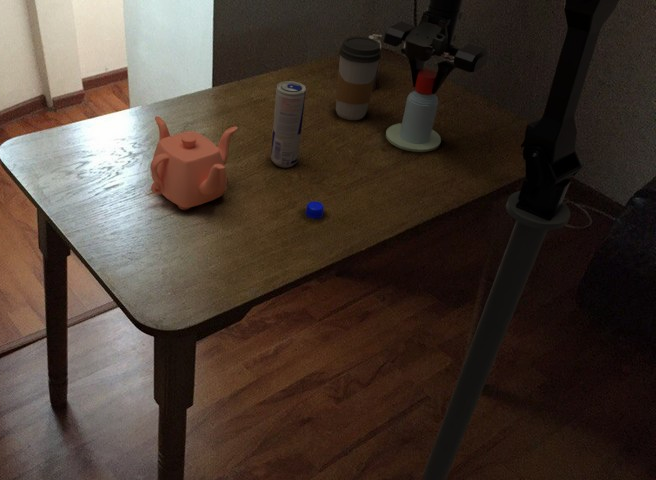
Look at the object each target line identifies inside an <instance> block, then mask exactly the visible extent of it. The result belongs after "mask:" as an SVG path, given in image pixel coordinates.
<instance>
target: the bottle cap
mask: <svg viewBox="0 0 656 480" xmlns="http://www.w3.org/2000/svg"><path fill="white" fill-rule="evenodd" d="M324 208H325V207H324V204H323V203H321V202H319V201H310V202H308V203H307V205H306V210H305V215H306V216H307V218H310V219H311V220H312V219H313V220H320V219H322V218H323V217H324Z"/></svg>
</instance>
